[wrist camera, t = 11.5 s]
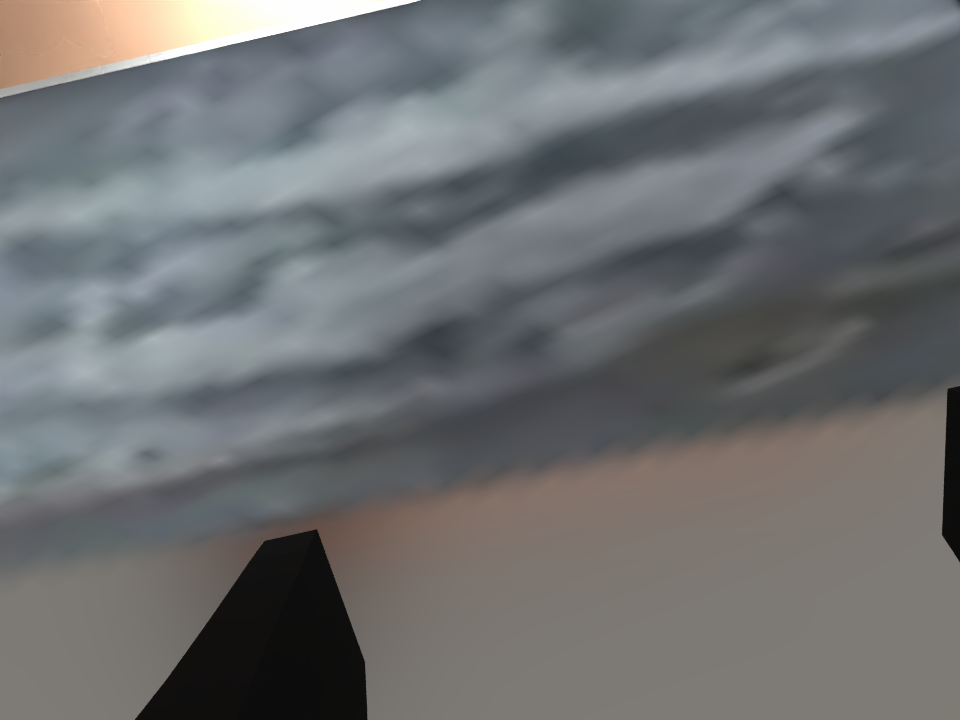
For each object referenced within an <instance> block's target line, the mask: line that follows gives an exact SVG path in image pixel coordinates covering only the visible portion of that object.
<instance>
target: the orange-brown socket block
mask: <svg viewBox="0 0 960 720" xmlns="http://www.w3.org/2000/svg"><path fill="white" fill-rule="evenodd" d="M416 1H421V0H0V98H1V97H5V96H9V95H14V94H18V93H22V92H27V91H31V90H35V89H40V88H44V87H48V86H53V85H57V84H61V83H66V82H70V81H74V80H79V79H83V78H87V77H92V76H96V75H100V74H105V73H109V72H113V71H118V70H122V69H126V68H131V67H135V66H139V65H144V64H148V63H152V62H157V61H161V60H165V59H170V58H174V57H178V56H183V55H187V54H191V53H196V52H200V51H204V50H209V49H213V48H217V47H222V46H226V45H230V44H235V43H239V42H243V41H248V40H252V39H256V38H261V37H265V36H269V35H274V34H278V33H282V32H287V31H291V30H295V29H300V28H304V27H308V26H313V25H317V24H321V23H326V22H330V21H334V20H338V19H343V18H347V17H351V16H356V15H360V14H364V13H369V12H373V11H377V10H382V9H386V8H390V7H395V6H399V5H403V4H408V3H412V2H416Z"/></svg>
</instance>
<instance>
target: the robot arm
mask: <svg viewBox="0 0 960 720" xmlns="http://www.w3.org/2000/svg"><path fill="white" fill-rule="evenodd" d="M946 421H947V422H946V445H945V471H944V498H943V500H944V501H943V524H942V535H943V537H944V539H945V540H946V542H947V543H948V545H949V546H950V548H951V549H952V550H953V552H954V554H955V555H956V557H957V558H958V560H959V562H960V386H958V387H954V388H949V389H948V392H947V418H946ZM135 720H367V697H366V675H365V661H364V658H363V655H362V653H361V650H360V647H359V645H358V642H357V639H356V636H355V633H354V631H353V628H352V625H351V622H350V620H349V617H348V614H347V611H346V608H345V606H344V603H343V600H342V597H341V595H340V592H339V589H338V586H337V583H336V581H335V578H334V575H333V572H332V570H331V567H330V564H329V561H328V559H327V556H326V553H325V550H324V547H323V545H322V542H321V539H320V536H319V534H318V531H317V529H316V530H312V531H308V532H303V533H299V534H294V535H290V536H285V537H281V538H276V539H272V540H267V541H264V542H263V544H262V545H261V547H260V548H259V549H258V551H257V552H256V553H255V555H254V556H253V558H252V559H251V560H250V562H249V563H248V565H247V566H246V568H245V569H244V570H243V572H242V573H241V575H240V576H239V578H238V579H237V581H236V582H235V584H234V585H233V587H232V588H231V589H230V591H229V592H228V594H227V595H226V597H225V598H224V599H223V601H222V602H221V604H220V606H219V607H218V608H217V610H216V611H215V612H214V614H213V615H212V617H211V618H210V620H209V621H208V622H207V624H206V625H205V627H204V628H203V630H202V631H201V632H200V634H199V635H198V637H197V638H196V640H195V641H194V642H193V643H192V645H191V646H190V648H189V649H188V651H187V652H186V653H185V655H184V656H183V658H182V659H181V660H180V662H179V663H178V664H177V666H176V667H175V669H174V670H173V671H172V673H171V674H170V676H169V677H168V678H167V680H166V681H165V682H164V684H163V685H162V686H161V687H160V689H159V690H158V691H157V692H156V694H155V695H154V696H153V698H152V699H151V700H150V701H149V703H148V704H147V705H146V706H145V708H144V709H143V710H142V711H141V713H140V714H139V715H138V716H137V718H136V719H135Z"/></svg>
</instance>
